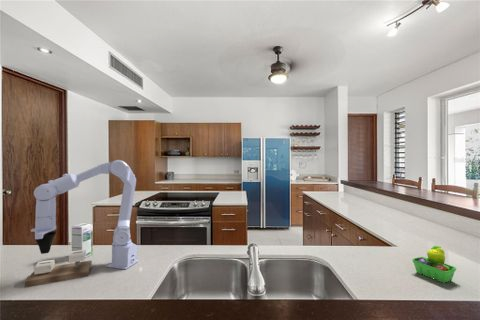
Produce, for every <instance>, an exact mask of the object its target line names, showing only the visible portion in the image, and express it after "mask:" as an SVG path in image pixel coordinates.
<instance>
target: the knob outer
mask: <svg viewBox="0 0 480 320" xmlns="http://www.w3.org/2000/svg"><path fill="white" fill-rule="evenodd" d="M55 263H56V262H55V259H50V260H48V259H47V260H43V261H38V262H37V264H35V266H34V270H33V272H34V275H35V274H41V273H47V272H51V271H52V269H53V268H54V267H55V266H56V265H55Z"/></svg>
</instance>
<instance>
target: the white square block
mask: <svg viewBox="0 0 480 320" xmlns="http://www.w3.org/2000/svg"><path fill="white" fill-rule="evenodd" d="M86 258H87V257H86V250H79V251H72V250H71V252H70V253H69V255H68V264H71V263H75V262H78V261H80V262H84V261H85V259H86Z"/></svg>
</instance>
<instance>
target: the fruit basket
mask: <svg viewBox="0 0 480 320" xmlns="http://www.w3.org/2000/svg"><path fill="white" fill-rule="evenodd" d="M411 260H412V263H413V265H414V267H415V268H414V269H415V271H416V273H417V272H418V273H417V274H419V273H420V274H419V275H422V274H423V275H422V276H424V275H425V276H424V277H426V276H429V277H431V278H434V279H437V280H439V281H441V282H444V283H443V284H446V283H445V282H447V283H449V282H451V281H450V280H452V281H453V277H454V275H455V272H456V270H457V267H456V266H453V265H450V264H448V263H447V264H446V263H445V262H446V256H445V251H444V249H443V248H442V247H441V246H438V245H433V246H432V247H431V248H430V249H429V250H428V251H427V252H426V257H425V256H420V257H419V256H418V257H415V258H412V259H411ZM429 277H428V278H429ZM431 278H430V279H431ZM434 279H433V280H434ZM437 280H436V281H437ZM439 281H438V282H439ZM448 281H449V282H448ZM441 282H440V283H441Z"/></svg>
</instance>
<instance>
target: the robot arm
mask: <svg viewBox="0 0 480 320" xmlns="http://www.w3.org/2000/svg"><path fill="white" fill-rule="evenodd" d="M110 173H111V174H112V175H115V176H116V177H118V178H119V179H120V180H121V181H122V182H123V190H122V194H121V195H122V197H121V202H120V207H119V215H118V218H117V219H118V220H117V224H116V227H115V228H114V229H113V237H112V242H111V263H108V264H107V265H106V267H107V268H111V269H112V268H114V269H122V270H127V269H128V268H130V267H132V266H133V265H135V264H137V263H138V262H139V259H138V252H139V251H138V245H137V244H135V243H133V242H132V238H131V230H130V227H131V226H130V223H131V216H132V210H133V204H134V197H135V192H136V187H137V186H136V185H137V178H136V176H135V174H134V172H133V170H132V169H131V167H130V166H129V164H127V163H126V162H125V161H124V160H121V159H116V160H114V161H109V162H106V163H105V162H104V163H101V164H98V165H97V166H93V167H91V168H90V169H87V170H85V171H83V172H80V173H77V174H73V173H64V174H61V175H62V177H58V178H56V179H54V180H52V179H50V180H48V181H47V183H43V184H40V185H38V186H37V187H35V189H34V191H33V195H34V198H35V199H36V200H35V219H34V220H35V224H34V225H35V227H34V228H31V229H30V232H31V233H32V232H34V235H33V239H34V240H35V243H37V245H38V248H39V252H40V254H41V255H43V254H45V255H46V254H48V253H50V252H51V248H52V244H53V241H54V239H55V238H54V237H55V236H56V234H57V221H56V218H57V202H56V200H57V199H56V197H57V196H58V195H61V194H64V193H67V192H69V191H71V190H73V189H75V188H77V187H79V185H80V183H81V182H84V181H86V180H89V179H91V178H93V177H95V176H96V177H97V176H98V175H101V174H104V175H105V174H106V175H109V174H110Z"/></svg>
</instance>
